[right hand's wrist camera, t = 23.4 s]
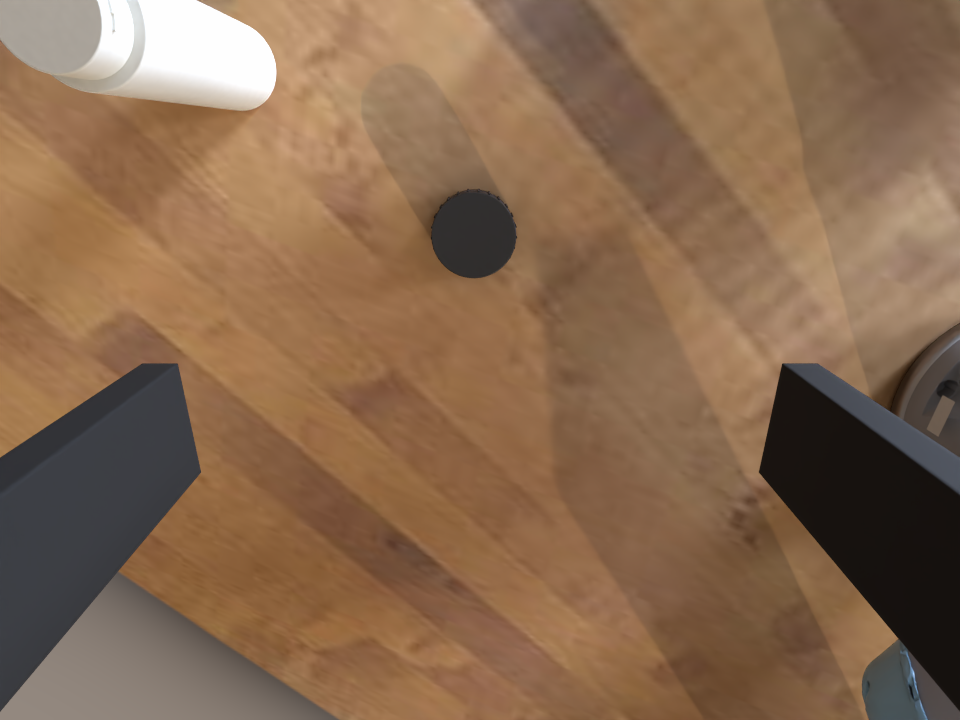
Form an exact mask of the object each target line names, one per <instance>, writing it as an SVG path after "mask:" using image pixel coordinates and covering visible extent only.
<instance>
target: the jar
mask: <svg viewBox="0 0 960 720" xmlns="http://www.w3.org/2000/svg"><path fill="white" fill-rule="evenodd" d="M0 40H1V41H2V43H3V44H4V45H5V46H6V47H7V49H8V50H9V51H10V52H11V53H12V54H14V55H15V56H16V57H17V58H18V59H20V60H21V61H22V62H24V63H25V64H27V65H28V66H30V67H32V68H34V69H36V70H38V71H41V72H44V73H48V74H51V75H52V76H53V77H54V78H56V79H57V80H59V81H60V82H62V83H64V84H66V85H68V86H70V87H72V88H74V89H77V90H80V91H84V92H89V93H97V94H105V95H114V96H122V97H130V98H138V99H147V100H155V101H163V102H171V103H180V104H188V105H196V106H204V107H212V108H221V109H229V110H237V111H247V110H252V109H254V108H257V107H258V106H260V105H262V104H263V103H264V102H265V101H266V100H267V99H268V98H269V96H270V95H271V93H272V91H273V88H274V85H275V81H276V65H275V60H274V57H273V54H272V52H271V49H270V48H269V46H268V44H267V43H266V41H265V40H264V39H263V38H262V36H261V35H260V34H259V33H258V32H256V31H255V30H254V29H252V28H251V27H249V26H247V25H245V24H243V23H241V22H239V21H237V20H235V19H233V18H231V17H229V16H227V15H225V14H223V13H221V12H219V11H217V10H215V9H213V8H211V7H209V6H207V5H205V4H203V3H201V2H199V1H197V0H0Z"/></svg>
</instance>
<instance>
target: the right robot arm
mask: <svg viewBox="0 0 960 720" xmlns="http://www.w3.org/2000/svg"><path fill="white" fill-rule="evenodd" d="M200 473H201V470H200V465H199V460H198V456H197V451H196V447H195V442H194V437H193V433H192V428H191V423H190V419H189V414H188V409H187V405H186V400H185V395H184V391H183V386H182V381H181V377H180V372H179V368H178V364H141V365H139V366H138V367H136V368H135V369H133V370H132V371H130V372H129V373H127V374H126V375H124V376H123V377H121V378H120V379H118V380H117V381H115V382H114V383H112V384H111V385H109V386H108V387H106V388H105V389H103V390H102V391H100V392H99V393H97V394H96V395H94V396H93V397H91V398H90V399H88V400H87V401H85V402H84V403H82V404H81V405H79V406H78V407H76V408H75V409H73V410H72V411H70V412H69V413H67V414H65V415H64V416H62V417H61V418H59V419H58V420H56V421H55V422H53V423H52V424H50V425H49V426H47V427H46V428H44V429H43V430H41V431H40V432H38V433H37V434H35V435H34V436H32V437H31V438H29V439H28V440H26V441H25V442H23V443H22V444H20V445H19V446H17V447H16V448H14V449H13V450H11V451H10V452H8V453H7V454H5V455H4V456H2V457H1V458H0V711H1V710H2V709H3V708H4V706H5V705H6V704H7V703H8V702H9V700H10V699H11V698H12V697H13V696H14V694H15V693H16V692H17V691H18V690H19V689H20V687H21V686H22V685H23V684H24V683H25V681H26V680H27V679H28V678H29V677H30V675H31V674H32V673H33V672H34V671H35V669H36V668H37V667H38V666H39V665H40V664H41V662H42V661H43V660H44V659H45V658H46V656H47V655H48V654H49V653H50V652H51V650H52V649H53V648H54V647H55V646H56V644H57V643H58V642H59V641H60V640H61V639H62V637H63V636H64V635H65V634H66V633H67V631H68V630H69V629H70V628H71V627H72V625H73V624H74V623H75V622H76V621H77V619H78V618H79V617H80V616H81V615H82V614H83V612H84V611H85V610H86V609H87V608H88V606H89V605H90V604H91V603H92V602H93V600H94V599H95V598H96V597H97V596H98V594H99V593H100V592H101V591H102V590H103V588H104V587H105V586H106V585H107V584H108V583H109V581H110V580H111V579H112V578H113V577H114V575H115V574H116V573H117V572H118V571H119V569H120V568H121V567H122V566H123V565H124V563H125V562H126V561H127V560H128V559H129V558H130V556H131V555H132V554H133V553H134V552H135V550H136V549H137V548H138V547H139V546H140V544H141V543H142V542H143V541H144V540H145V538H146V537H147V536H148V535H149V534H150V533H151V531H152V530H153V529H154V528H155V527H156V525H157V524H158V523H159V522H160V521H161V519H162V518H163V517H164V516H165V515H166V513H167V512H168V511H169V510H170V509H171V508H172V506H173V505H174V504H175V503H176V502H177V500H178V499H179V498H180V497H181V496H182V494H183V493H184V492H185V491H186V490H187V488H188V487H189V486H190V485H191V484H192V482H193V481H194V480H195V479H196V478H197V477H198V475H199V474H200ZM759 473H760V474H761V475H762V477H763V478H764V479H765V480H766V481H767V482H768V484H769V485H770V486H771V487H772V488H773V490H774V491H775V492H776V493H777V494H778V496H779V497H780V498H781V499H782V500H783V502H784V503H785V504H786V505H787V506H788V508H789V509H790V510H791V511H792V512H793V513H794V515H795V516H796V517H797V518H798V519H799V521H800V522H801V523H802V524H803V525H804V527H805V528H806V529H807V530H808V531H809V533H810V534H811V535H812V536H813V537H814V538H815V540H816V541H817V542H818V543H819V544H820V546H821V547H822V548H823V549H824V550H825V552H826V553H827V554H828V555H829V556H830V558H831V559H832V560H833V561H834V562H835V563H836V565H837V566H838V567H839V568H840V569H841V571H842V572H843V573H844V574H845V575H846V577H847V578H848V579H849V580H850V581H851V583H852V584H853V585H854V586H855V587H856V589H857V590H858V591H859V592H860V593H861V594H862V596H863V597H864V598H865V599H866V600H867V602H868V603H869V604H870V605H871V606H872V608H873V609H874V610H875V611H876V612H877V614H878V615H879V616H880V617H881V618H882V619H883V621H884V622H885V623H886V624H887V625H888V627H889V628H890V629H891V630H892V631H893V633H894V634H895V635H896V636H897V637H898V640H897V641H896V642H895V643H893V644H892V645H891V646H890V647H889V648H888V649H886V650H885V651H884V652H883V653H882V654H880V655H879V656H878V657H877V658H876V659H874V660H873V661H872V662H871V663H870V664H869V665H868V666H867V668H866V670H865V672H864V675H863V679H862V695H863V699H864V702H865V706H866V712H867V715H868V718H869V720H960V323H959V324H957V325H956V326H954V327H953V328H951V329H950V330H948V331H947V332H946V333H944V334H943V335H941V336H940V337H939V338H938V339H937V340H935V341H934V342H933V343H932V344H931V345H930V346H929V347H928V348H927V349H926V350H925V351H924V352H923V353H922V354H921V355H920V356H919V357H918V358H917V360H916V361H915V362H914V363H913V365H912V366H911V367H910V369H909V370H908V372H907V373H906V375H905V376H904V378H903V380H902V382H901V384H900V386H899V388H898V390H897V392H896V395H895V397H894V400H893V404H892V407H891V412H890V411H888V410H887V409H885V408H884V407H882V406H881V405H879V404H878V403H876V402H875V401H873V400H872V399H870V398H869V397H867V396H866V395H864V394H863V393H861V392H860V391H858V390H857V389H855V388H854V387H852V386H851V385H849V384H848V383H846V382H845V381H843V380H842V379H840V378H839V377H837V376H836V375H834V374H833V373H831V372H830V371H828V370H827V369H825V368H824V367H822V366H821V365H819V364H782V368H781V372H780V377H779V381H778V386H777V391H776V395H775V400H774V405H773V409H772V414H771V419H770V423H769V428H768V433H767V437H766V442H765V447H764V451H763V456H762V460H761V465H760V470H759Z"/></svg>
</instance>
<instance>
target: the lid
mask: <svg viewBox="0 0 960 720" xmlns="http://www.w3.org/2000/svg"><path fill="white" fill-rule="evenodd" d="M512 217H513V215H512V213H510V211H509V209H508V206H507V204H504V203H503V202H502V201H501V200H500V198H499V197H496V196H495V195H493V194H491V193H490V192H489V191H488V192H486V191H482V190H480V189H478V190H469V189H467V190H466V191H462V192H460V193H459V192H457V194H455V195H453V196H452V197H448V199H447V201H446V202H445V203H444V204H443V205H442V204H441V206H440V210H439V211H438V213H436V215H435V216H434V218H435V219H434V222H433V225H432V227H431V228H432V237H431V239H432V244H433V249H434V251H435V253H436V255H437V257H438V259H439V260H440V261H441V263H442V264H443V265H444V266H445V267H446V268H447V269H449V270H450V271H451V272H453V273H455V274H457V275H459V276H463V277H467V278H481V277H486V276H488V275H491V274H493V273H495V272H497V271H498V270H499V269H501V268H502V267H503V266H504V265H505V264H506V263H507V261H508V260H509V259H510V257H511V255H512V253H513V250H514V249H515V243H516V238H517V236H516V224H515V223H514V220H513V218H512Z"/></svg>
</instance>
